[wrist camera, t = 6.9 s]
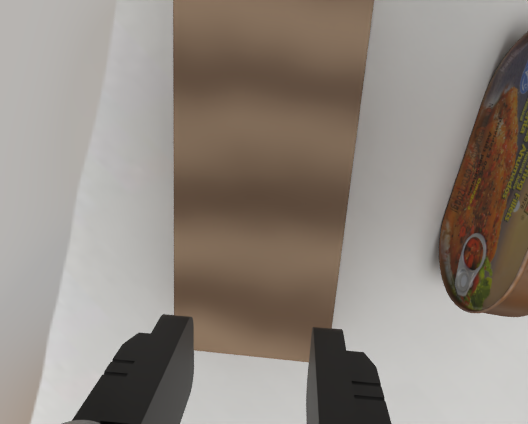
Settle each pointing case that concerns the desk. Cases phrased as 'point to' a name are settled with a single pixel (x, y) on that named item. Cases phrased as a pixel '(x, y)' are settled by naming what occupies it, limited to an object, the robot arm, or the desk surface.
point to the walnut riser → (263, 166)
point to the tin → (492, 201)
